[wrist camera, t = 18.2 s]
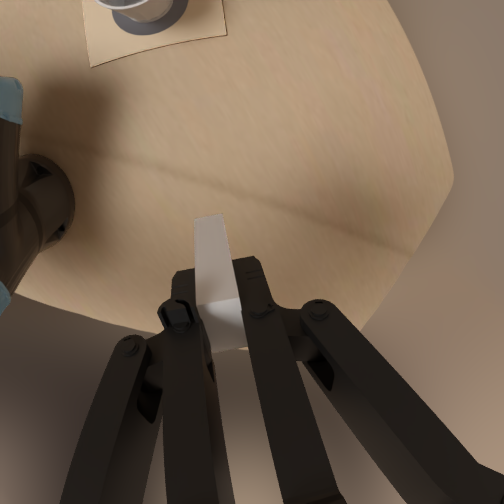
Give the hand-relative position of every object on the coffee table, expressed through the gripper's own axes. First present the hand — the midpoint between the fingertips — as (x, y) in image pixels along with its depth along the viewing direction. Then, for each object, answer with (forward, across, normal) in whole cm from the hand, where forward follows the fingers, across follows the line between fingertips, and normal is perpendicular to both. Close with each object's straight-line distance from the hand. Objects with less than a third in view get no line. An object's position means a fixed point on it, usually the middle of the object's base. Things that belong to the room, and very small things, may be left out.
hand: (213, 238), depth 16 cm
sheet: (+26, -4, +21) cm, 34 cm away
